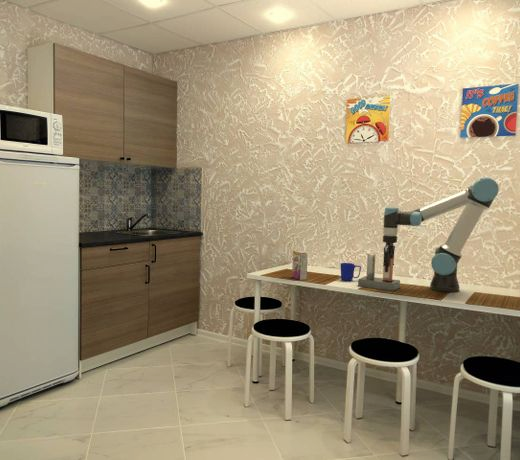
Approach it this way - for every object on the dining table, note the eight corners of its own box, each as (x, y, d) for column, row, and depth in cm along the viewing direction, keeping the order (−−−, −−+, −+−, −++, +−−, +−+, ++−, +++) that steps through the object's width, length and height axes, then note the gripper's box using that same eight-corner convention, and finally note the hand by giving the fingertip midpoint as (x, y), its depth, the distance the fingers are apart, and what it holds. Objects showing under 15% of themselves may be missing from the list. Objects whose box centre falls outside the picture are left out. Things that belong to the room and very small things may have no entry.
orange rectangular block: (392, 279, 256) (393, 258, 255) (390, 280, 253) (391, 259, 252) (385, 279, 258) (386, 257, 257) (382, 280, 255) (384, 258, 254)
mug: (360, 282, 270) (361, 265, 270) (339, 281, 273) (340, 264, 272) (360, 279, 278) (360, 263, 278) (340, 278, 281) (340, 262, 280)
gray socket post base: (399, 287, 258) (401, 255, 257) (393, 290, 248) (395, 257, 247) (365, 283, 269) (366, 252, 267) (357, 286, 258) (359, 254, 257)
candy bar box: (291, 277, 282) (292, 250, 281) (298, 276, 284) (299, 250, 283) (299, 280, 272) (300, 252, 271) (307, 280, 274) (308, 252, 272)
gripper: (387, 233, 263) (385, 274, 264) (378, 235, 248) (376, 278, 250) (401, 234, 259) (398, 275, 261) (392, 236, 244) (390, 280, 246)
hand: (387, 277), depth 255 cm, fingers closed on orange rectangular block, 4 cm apart
